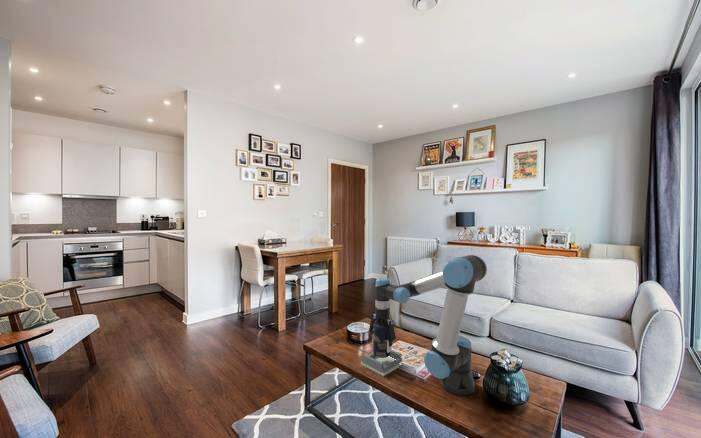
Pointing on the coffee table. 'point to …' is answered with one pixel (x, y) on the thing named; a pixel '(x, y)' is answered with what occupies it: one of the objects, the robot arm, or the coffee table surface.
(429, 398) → the coffee table surface
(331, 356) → the coffee table surface
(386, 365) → the grey square tray
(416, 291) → the robot arm
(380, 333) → the canister
